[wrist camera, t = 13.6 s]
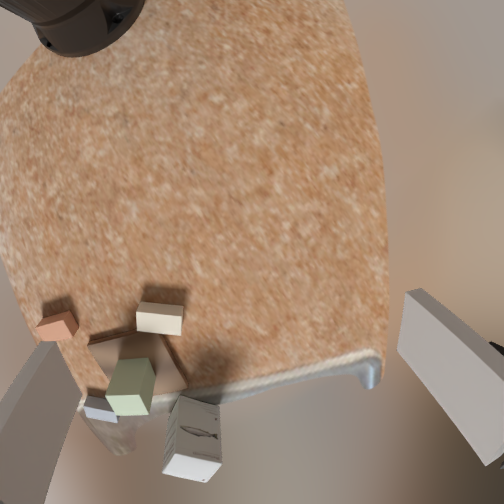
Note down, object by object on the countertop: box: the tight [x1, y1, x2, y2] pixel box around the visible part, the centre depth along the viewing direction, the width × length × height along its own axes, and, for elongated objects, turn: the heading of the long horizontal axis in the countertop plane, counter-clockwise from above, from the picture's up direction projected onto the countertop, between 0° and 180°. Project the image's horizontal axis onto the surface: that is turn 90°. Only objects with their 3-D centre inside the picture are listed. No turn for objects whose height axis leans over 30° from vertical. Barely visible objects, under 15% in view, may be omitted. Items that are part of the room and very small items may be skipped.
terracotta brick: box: [35, 311, 79, 341], centre depth 38 cm, size 6×3×3 cm, turn 106°
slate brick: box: [83, 396, 120, 423], centre depth 44 cm, size 6×3×3 cm, turn 82°
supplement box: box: [162, 395, 222, 482], centre depth 42 cm, size 7×7×13 cm
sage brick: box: [105, 358, 156, 415], centre depth 38 cm, size 4×5×8 cm
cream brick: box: [136, 301, 183, 336], centre depth 40 cm, size 6×3×3 cm, turn 82°
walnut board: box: [87, 329, 189, 396], centre depth 43 cm, size 12×12×1 cm
